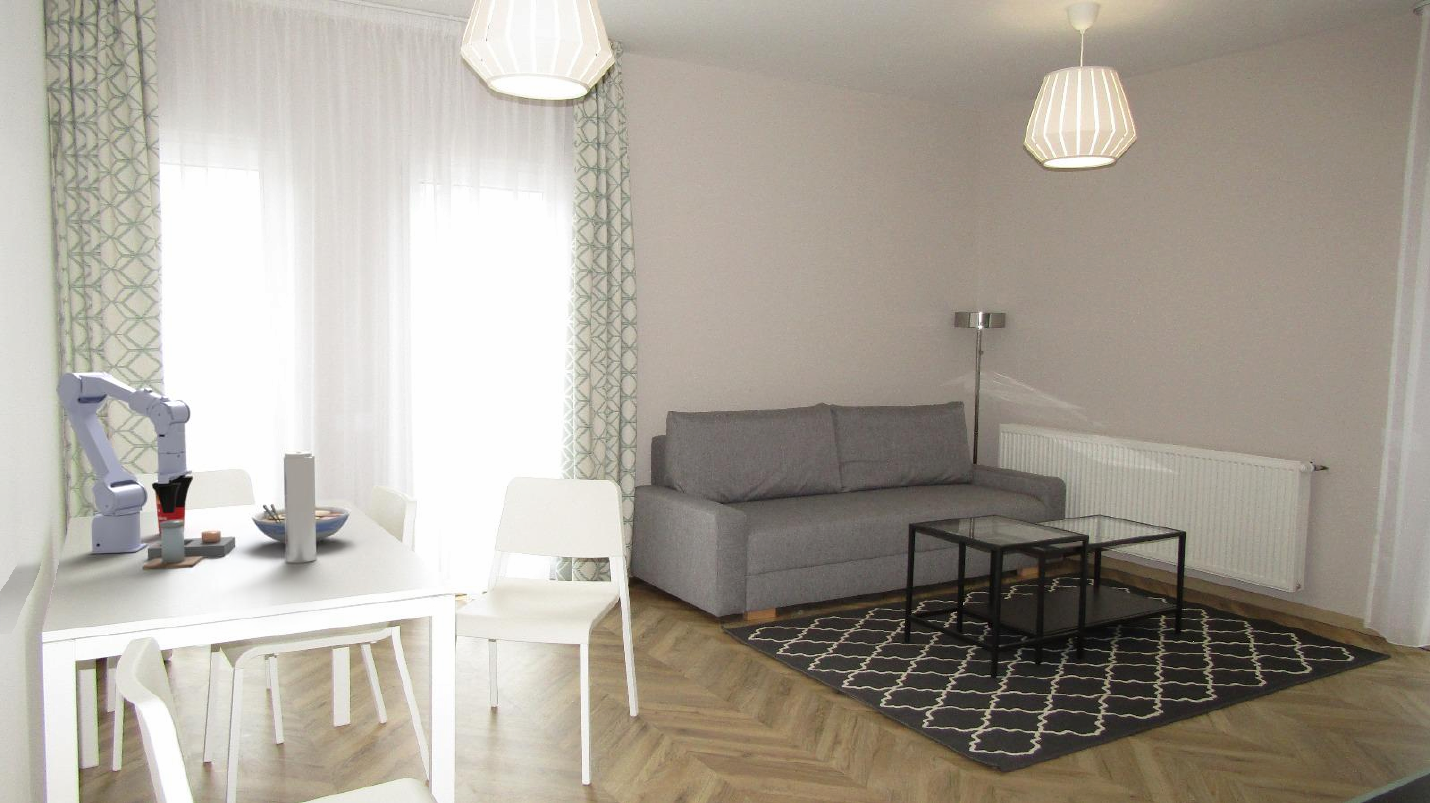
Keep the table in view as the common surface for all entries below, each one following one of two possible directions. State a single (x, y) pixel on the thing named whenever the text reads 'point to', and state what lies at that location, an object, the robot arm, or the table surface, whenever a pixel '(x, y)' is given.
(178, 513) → the paper cup
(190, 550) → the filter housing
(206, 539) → the plunger
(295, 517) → the air filter
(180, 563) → the walnut pad
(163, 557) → the cylinder
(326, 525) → the ramen bowl
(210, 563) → the table surface
